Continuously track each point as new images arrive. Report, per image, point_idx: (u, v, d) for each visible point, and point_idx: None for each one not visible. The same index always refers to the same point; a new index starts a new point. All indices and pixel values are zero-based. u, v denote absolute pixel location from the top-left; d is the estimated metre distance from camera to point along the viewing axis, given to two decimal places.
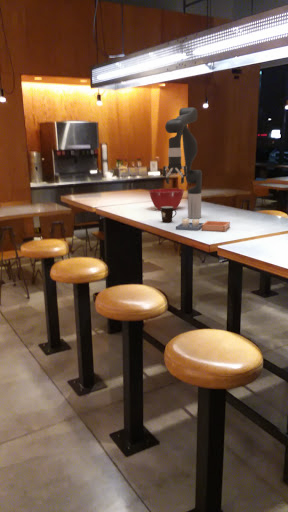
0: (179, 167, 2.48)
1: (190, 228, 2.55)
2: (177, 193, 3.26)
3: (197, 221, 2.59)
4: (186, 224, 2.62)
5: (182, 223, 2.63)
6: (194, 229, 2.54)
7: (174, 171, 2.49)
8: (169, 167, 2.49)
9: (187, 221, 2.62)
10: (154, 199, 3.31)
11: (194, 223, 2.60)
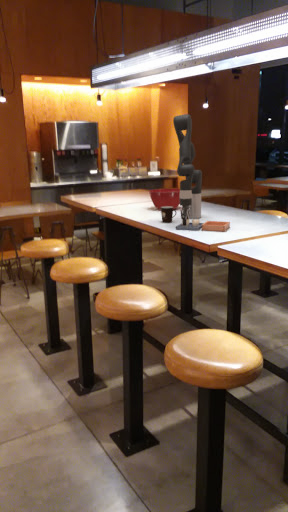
0: None
1: (190, 228, 2.55)
2: (177, 193, 3.26)
3: (197, 221, 2.59)
4: (186, 224, 2.62)
5: (182, 223, 2.63)
6: (194, 229, 2.54)
7: None
8: (185, 208, 2.58)
9: (187, 221, 2.62)
10: (154, 199, 3.31)
11: (194, 223, 2.60)
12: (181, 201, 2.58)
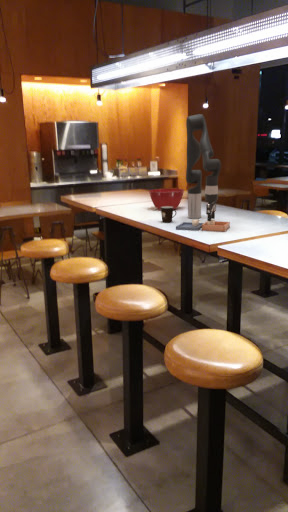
0: (214, 203, 2.57)
1: (190, 228, 2.55)
2: (177, 193, 3.26)
3: (197, 221, 2.59)
4: None
5: (207, 224, 2.57)
6: (194, 229, 2.54)
7: (213, 208, 2.55)
8: (211, 204, 2.51)
9: (213, 222, 2.56)
10: (154, 199, 3.31)
11: (194, 223, 2.60)
12: (207, 197, 2.51)
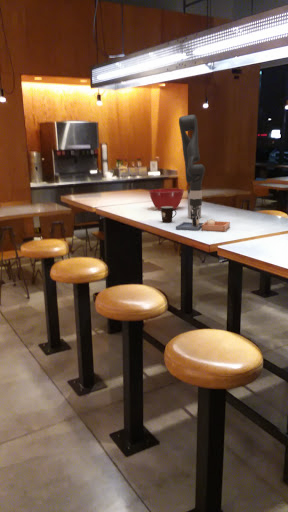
0: (198, 208, 2.62)
1: (190, 228, 2.55)
2: (177, 193, 3.26)
3: (197, 221, 2.59)
4: None
5: (207, 224, 2.57)
6: (194, 229, 2.54)
7: None
8: (196, 209, 2.56)
9: (213, 222, 2.56)
10: (154, 199, 3.31)
11: None
12: (191, 201, 2.56)
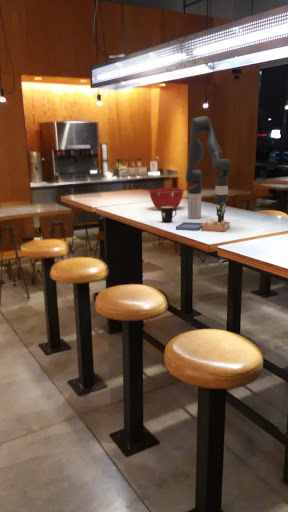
0: None
1: (190, 228, 2.55)
2: (177, 193, 3.26)
3: (223, 221, 2.54)
4: None
5: (207, 224, 2.57)
6: (194, 229, 2.54)
7: (222, 208, 2.52)
8: (221, 205, 2.49)
9: (213, 222, 2.56)
10: (154, 199, 3.31)
11: (219, 223, 2.54)
12: (217, 197, 2.49)
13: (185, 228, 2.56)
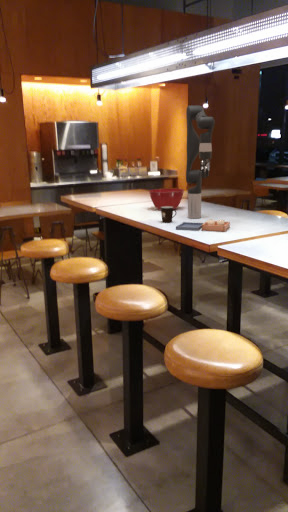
0: (208, 161, 2.63)
1: (190, 228, 2.55)
2: (177, 193, 3.26)
3: (223, 222, 2.53)
4: None
5: (207, 224, 2.57)
6: (194, 229, 2.54)
7: (207, 165, 2.61)
8: (205, 162, 2.58)
9: (213, 222, 2.56)
10: (154, 199, 3.31)
11: (219, 224, 2.53)
12: (201, 154, 2.57)
13: (185, 228, 2.56)
